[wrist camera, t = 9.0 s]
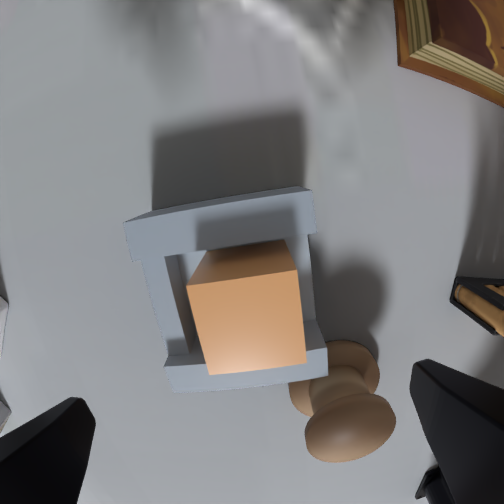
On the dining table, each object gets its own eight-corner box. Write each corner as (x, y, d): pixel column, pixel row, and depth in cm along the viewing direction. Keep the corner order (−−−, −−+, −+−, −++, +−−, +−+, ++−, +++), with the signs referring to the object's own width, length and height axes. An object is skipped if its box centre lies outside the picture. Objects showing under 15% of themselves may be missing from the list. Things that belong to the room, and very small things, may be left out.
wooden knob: (372, 399, 20) (396, 452, 14) (292, 415, 20) (300, 474, 15) (376, 331, 18) (411, 382, 13) (283, 349, 18) (292, 409, 13)
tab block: (293, 311, 17) (307, 362, 12) (221, 321, 17) (209, 375, 12) (284, 239, 16) (296, 269, 11) (206, 251, 16) (186, 285, 11)
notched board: (315, 337, 18) (328, 375, 14) (187, 353, 19) (173, 392, 15) (298, 186, 16) (311, 190, 12) (151, 210, 16) (122, 222, 13)
